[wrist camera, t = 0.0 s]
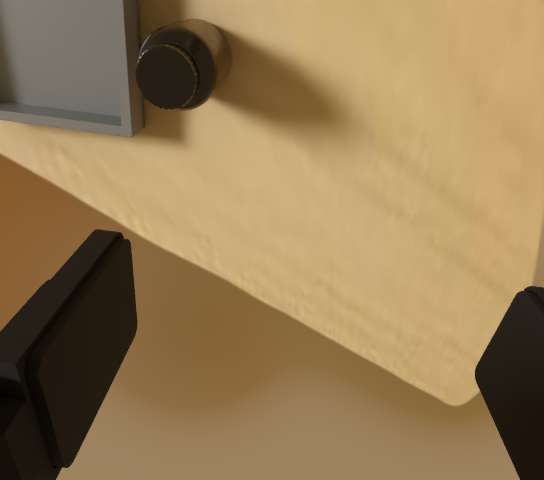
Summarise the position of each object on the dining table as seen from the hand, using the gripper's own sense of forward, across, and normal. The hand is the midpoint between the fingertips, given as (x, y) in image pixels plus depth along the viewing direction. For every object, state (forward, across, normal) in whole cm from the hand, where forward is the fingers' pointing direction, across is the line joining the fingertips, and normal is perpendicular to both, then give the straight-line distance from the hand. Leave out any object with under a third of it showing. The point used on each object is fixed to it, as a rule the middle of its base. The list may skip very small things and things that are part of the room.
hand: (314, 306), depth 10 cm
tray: (+37, +26, 0) cm, 45 cm away
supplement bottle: (+37, +11, 0) cm, 39 cm away
